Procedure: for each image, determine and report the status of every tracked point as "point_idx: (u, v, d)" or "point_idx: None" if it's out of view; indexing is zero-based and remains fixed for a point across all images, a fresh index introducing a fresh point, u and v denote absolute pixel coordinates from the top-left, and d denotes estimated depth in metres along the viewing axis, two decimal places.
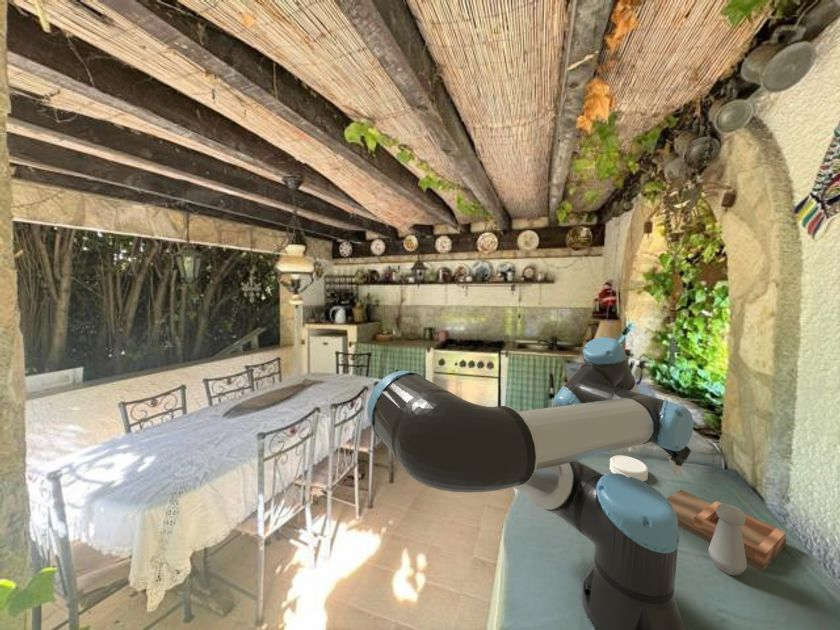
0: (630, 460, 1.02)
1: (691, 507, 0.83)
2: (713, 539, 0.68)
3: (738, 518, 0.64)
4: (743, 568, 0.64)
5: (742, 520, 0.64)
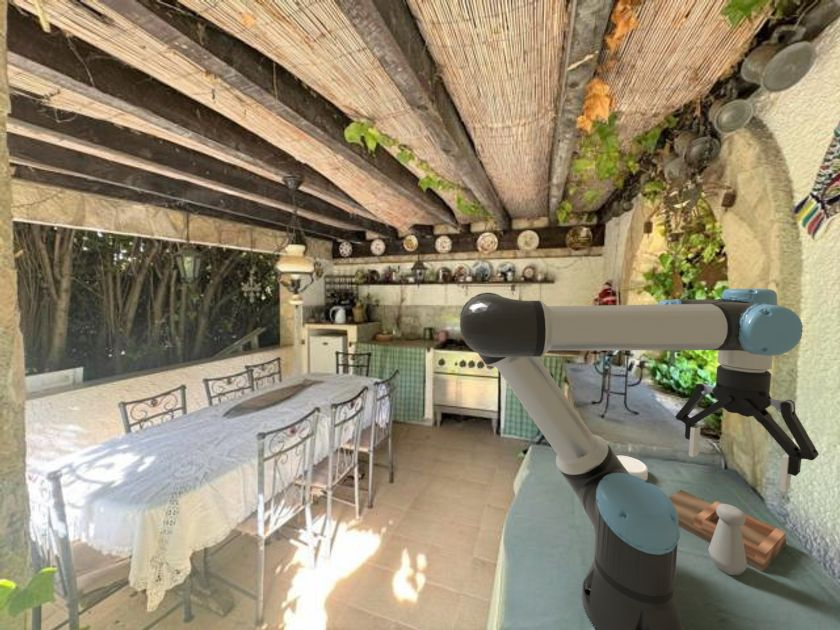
0: (630, 460, 1.02)
1: (691, 507, 0.83)
2: (713, 539, 0.68)
3: (738, 518, 0.64)
4: (743, 568, 0.64)
5: (742, 520, 0.64)
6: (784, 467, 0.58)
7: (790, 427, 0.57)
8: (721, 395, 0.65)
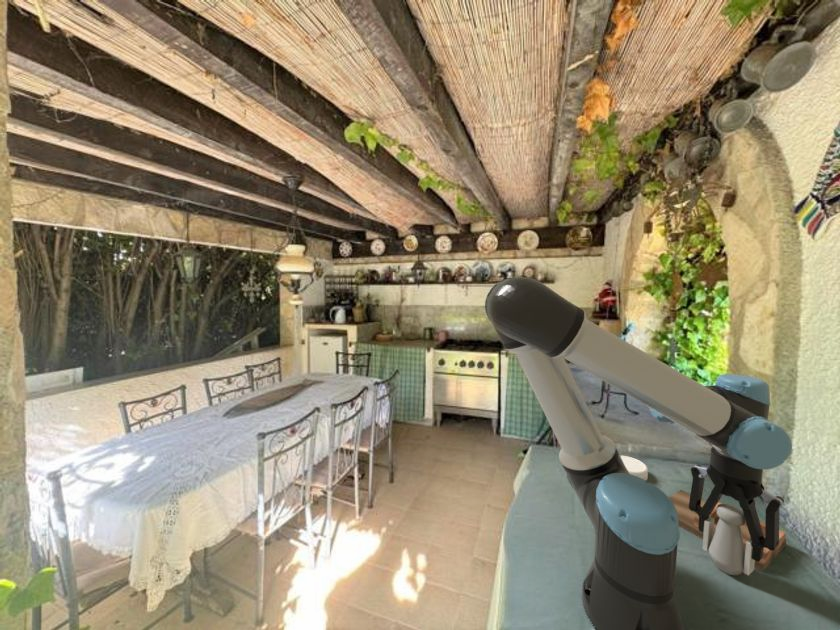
0: (630, 460, 1.02)
1: None
2: (713, 539, 0.68)
3: (738, 518, 0.64)
4: (743, 568, 0.64)
5: (742, 520, 0.64)
6: (748, 553, 0.63)
7: (767, 520, 0.60)
8: (716, 476, 0.67)
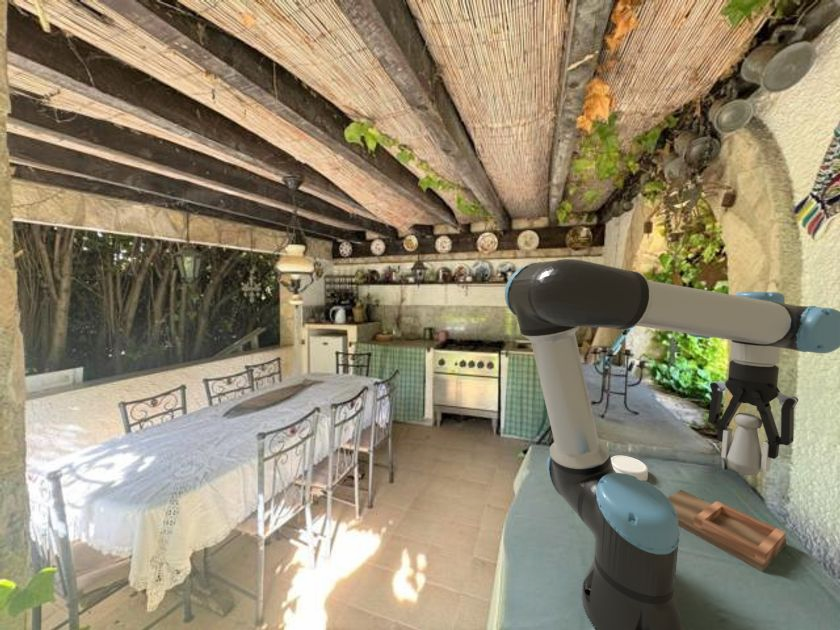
0: (630, 460, 1.02)
1: (691, 507, 0.83)
2: (731, 445, 0.73)
3: (755, 421, 0.70)
4: (760, 467, 0.70)
5: (759, 423, 0.70)
6: (765, 451, 0.69)
7: (783, 418, 0.66)
8: (734, 386, 0.73)
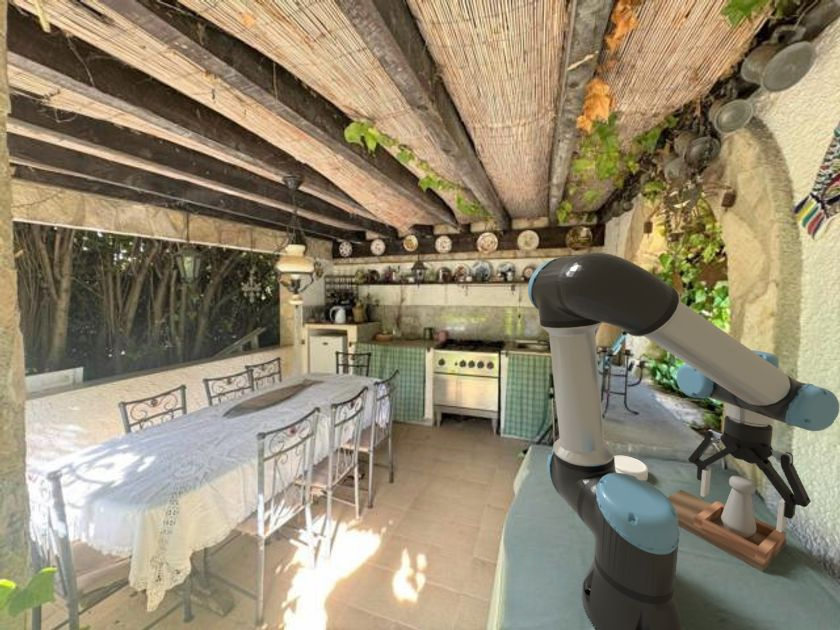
0: (630, 460, 1.02)
1: (691, 507, 0.83)
2: (726, 507, 0.75)
3: (749, 487, 0.71)
4: (753, 532, 0.71)
5: (753, 489, 0.71)
6: (781, 511, 0.67)
7: (787, 477, 0.66)
8: (728, 442, 0.74)
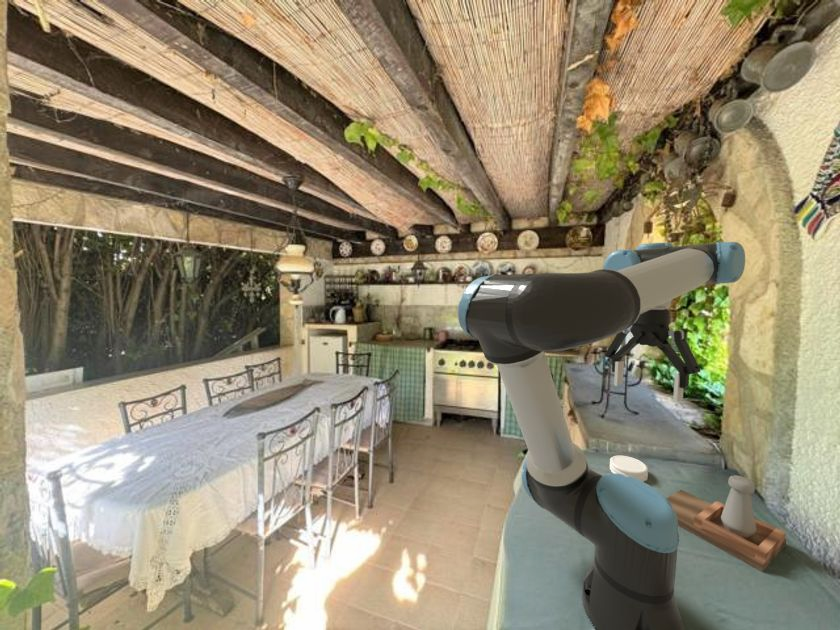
0: (630, 460, 1.02)
1: (691, 507, 0.83)
2: (725, 507, 0.75)
3: (748, 487, 0.71)
4: (753, 532, 0.71)
5: (752, 489, 0.71)
6: (676, 382, 0.74)
7: (680, 350, 0.73)
8: (635, 332, 0.81)
